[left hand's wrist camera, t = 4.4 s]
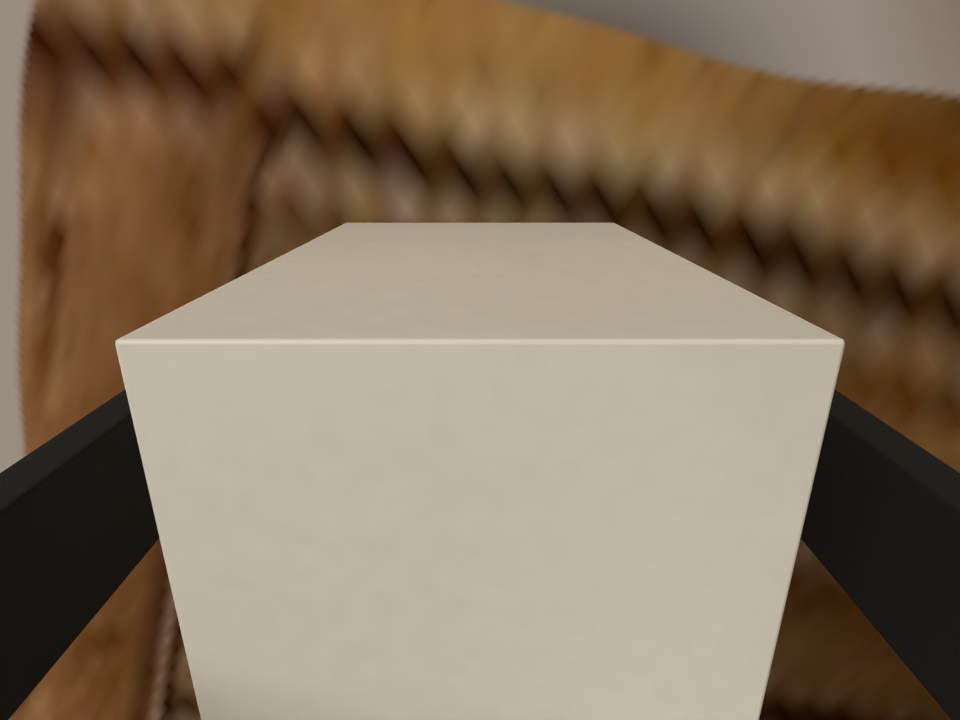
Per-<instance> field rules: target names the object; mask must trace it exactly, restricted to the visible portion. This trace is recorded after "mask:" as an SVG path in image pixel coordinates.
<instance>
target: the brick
mask: <svg viewBox="0 0 960 720" xmlns="http://www.w3.org/2000/svg"><path fill="white" fill-rule="evenodd" d="M115 345H116V350H117V354H118V358H119V363H120V367H121V372H122V376H123V380H124V385H125V389H126V393H127V398H128V402H129V406H130V411H131V415H132V420H133V424H134V428H135V433H136V437H137V441H138V446H139V450H140V454H141V459H142V463H143V468H144V472H145V476H146V481H147V485H148V489H149V494H150V498H151V502H152V507H153V511H154V516H155V520H156V524H157V529H158V533H159V537H160V542H161V546H162V550H163V555H164V559H165V564H166V568H167V572H168V577H169V581H170V585H171V590H172V594H173V598H174V603H175V607H176V612H177V616H178V620H179V625H180V629H181V633H182V638H183V642H184V646H185V651H186V655H187V660H188V664H189V668H190V673H191V677H192V681H193V686H194V690H195V694H196V699H197V703H198V708H199V712H200V716H201V720H759V717H760V713H761V708H762V704H763V699H764V695H765V691H766V686H767V682H768V678H769V673H770V669H771V665H772V660H773V656H774V651H775V647H776V643H777V638H778V634H779V630H780V625H781V621H782V617H783V612H784V608H785V604H786V599H787V595H788V590H789V586H790V582H791V577H792V573H793V569H794V564H795V560H796V556H797V551H798V547H799V542H800V538H801V534H802V529H803V525H804V521H805V516H806V512H807V508H808V503H809V499H810V494H811V490H812V486H813V481H814V477H815V473H816V468H817V464H818V460H819V455H820V451H821V446H822V442H823V438H824V433H825V429H826V425H827V420H828V416H829V412H830V407H831V403H832V398H833V394H834V390H835V385H836V381H837V377H838V372H839V368H840V364H841V359H842V355H843V350H844V346H845V343H844V340H843V339H841V338H839V337H837V336H835V335H833V334H831V333H829V332H827V331H825V330H823V329H821V328H819V327H817V326H815V325H813V324H811V323H810V322H808V321H806V320H804V319H802V318H800V317H798V316H796V315H794V314H792V313H790V312H788V311H786V310H784V309H782V308H780V307H778V306H776V305H774V304H772V303H770V302H768V301H766V300H764V299H762V298H760V297H758V296H757V295H755V294H753V293H751V292H749V291H747V290H745V289H743V288H741V287H739V286H737V285H735V284H733V283H731V282H729V281H727V280H725V279H723V278H721V277H719V276H717V275H715V274H713V273H711V272H709V271H707V270H705V269H704V268H702V267H700V266H698V265H696V264H694V263H692V262H690V261H688V260H686V259H684V258H682V257H680V256H678V255H676V254H674V253H672V252H670V251H668V250H666V249H664V248H662V247H660V246H658V245H656V244H654V243H652V242H651V241H649V240H647V239H645V238H643V237H641V236H639V235H637V234H635V233H633V232H631V231H629V230H627V229H625V228H623V227H621V226H619V225H617V224H615V223H345V224H343V225H341V226H339V227H337V228H335V229H333V230H331V231H329V232H327V233H325V234H323V235H321V236H320V237H318V238H316V239H314V240H312V241H310V242H308V243H306V244H304V245H302V246H300V247H298V248H296V249H294V250H292V251H290V252H288V253H286V254H284V255H282V256H280V257H278V258H276V259H274V260H272V261H270V262H268V263H266V264H265V265H263V266H261V267H259V268H257V269H255V270H253V271H251V272H249V273H247V274H245V275H243V276H241V277H239V278H237V279H235V280H233V281H231V282H229V283H227V284H225V285H223V286H221V287H219V288H217V289H215V290H213V291H211V292H210V293H208V294H206V295H204V296H202V297H200V298H198V299H196V300H194V301H192V302H190V303H188V304H186V305H184V306H182V307H180V308H178V309H176V310H174V311H172V312H170V313H168V314H166V315H164V316H162V317H160V318H158V319H156V320H155V321H153V322H151V323H149V324H147V325H145V326H143V327H141V328H139V329H137V330H135V331H133V332H131V333H129V334H127V335H125V336H123V337H121V338H119V339H117V340H116V344H115Z"/></svg>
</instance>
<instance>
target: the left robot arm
mask: <svg viewBox="0 0 960 720" xmlns="http://www.w3.org/2000/svg"><path fill="white" fill-rule="evenodd" d="M159 538H160V537H159V533H158V529H157V524H156V520H155V516H154V511H153V507H152V502H151V498H150V494H149V489H148V485H147V481H146V476H145V472H144V468H143V463H142V459H141V454H140V450H139V446H138V441H137V437H136V433H135V428H134V424H133V420H132V415H131V411H130V406H129V402H128V398H127V393H126V389H125V390H124V391H122V392H121V393H119V394H118V395H116V396H115V397H113V398H112V399H110V400H109V401H107V402H106V403H104V404H103V405H101V406H100V407H98V408H97V409H95V410H94V411H92V412H91V413H90V414H88V415H87V416H85V417H84V418H82V419H81V420H79V421H78V422H76V423H75V424H73V425H72V426H70V427H69V428H67V429H66V430H64V431H63V432H61V433H60V434H58V435H57V436H55V437H54V438H52V439H51V440H49V441H48V442H46V443H45V444H43V445H42V446H40V447H39V448H37V449H36V450H34V451H33V452H31V453H30V454H28V455H27V456H25V457H24V458H22V459H21V460H19V461H18V462H16V463H15V464H13V465H12V466H10V467H9V468H7V469H6V470H5V471H3V472H2V473H0V720H8V719H9V718H10V717H11V716H12V715H13V713H14V712H15V711H16V710H17V709H18V707H19V706H20V705H21V704H22V703H23V701H24V700H25V699H26V698H27V696H28V695H29V694H30V693H31V692H32V690H33V689H34V688H35V687H36V686H37V684H38V683H39V682H40V681H41V680H42V678H43V677H44V676H45V675H46V674H47V672H48V671H49V670H50V669H51V668H52V666H53V665H54V664H55V663H56V662H57V660H58V659H59V658H60V657H61V656H62V654H63V653H64V652H65V651H66V650H67V648H68V647H69V646H70V645H71V644H72V642H73V641H74V640H75V639H76V637H77V636H78V635H79V634H80V633H81V631H82V630H83V629H84V628H85V627H86V625H87V624H88V623H89V622H90V621H91V619H92V618H93V617H94V616H95V615H96V613H97V612H98V611H99V610H100V609H101V607H102V606H103V605H104V604H105V603H106V601H107V600H108V599H109V598H110V597H111V595H112V594H113V593H114V592H115V591H116V589H117V588H118V587H119V586H120V585H121V583H122V582H123V581H124V580H125V578H126V577H127V576H128V575H129V574H130V572H131V571H132V570H133V569H134V568H135V566H136V565H137V564H138V563H139V562H140V560H141V559H142V558H143V557H144V556H145V554H146V553H147V552H148V551H149V550H150V548H151V547H152V546H153V545H154V544H155V542H156V541H157V540H158V539H159ZM801 539H802V540H803V541H804V542H805V544H806V545H807V546H808V547H809V548H810V550H811V551H812V552H813V553H814V554H815V556H816V557H817V558H818V559H819V560H820V562H821V563H822V564H823V565H824V566H825V568H826V569H827V570H828V571H829V572H830V574H831V575H832V576H833V577H834V579H835V580H836V581H837V582H838V583H839V585H840V586H841V587H842V588H843V589H844V591H845V592H846V593H847V594H848V595H849V597H850V598H851V599H852V600H853V601H854V603H855V604H856V605H857V606H858V607H859V609H860V610H861V611H862V612H863V613H864V615H865V616H866V617H867V618H868V619H869V621H870V622H871V623H872V624H873V625H874V627H875V628H876V629H877V630H878V632H879V633H880V634H881V635H882V636H883V638H884V639H885V640H886V641H887V642H888V644H889V645H890V646H891V647H892V648H893V650H894V651H895V652H896V653H897V654H898V656H899V657H900V658H901V659H902V660H903V662H904V663H905V664H906V665H907V666H908V668H909V669H910V670H911V671H912V672H913V674H914V675H915V676H916V677H917V678H918V680H919V681H920V682H921V683H922V684H923V686H924V687H925V688H926V689H927V691H928V692H929V693H930V694H931V695H932V697H933V698H934V699H935V700H936V701H937V703H938V704H939V705H940V706H941V707H942V709H943V710H944V711H945V712H946V713H947V715H948V716H949V717H950V718H951V719H952V720H960V473H958V472H957V471H955V470H954V469H952V468H951V467H949V466H948V465H947V464H945V463H944V462H942V461H941V460H939V459H938V458H936V457H935V456H933V455H932V454H930V453H929V452H927V451H926V450H924V449H923V448H921V447H920V446H918V445H917V444H915V443H914V442H912V441H911V440H909V439H908V438H906V437H905V436H903V435H902V434H900V433H899V432H897V431H896V430H894V429H893V428H891V427H890V426H888V425H887V424H885V423H884V422H882V421H881V420H879V419H878V418H876V417H875V416H873V415H872V414H870V413H869V412H867V411H866V410H864V409H863V408H862V407H860V406H859V405H857V404H856V403H854V402H853V401H851V400H850V399H848V398H847V397H845V396H844V395H842V394H841V393H839V392H838V391H836V390H834V394H833V398H832V403H831V407H830V412H829V416H828V420H827V425H826V429H825V433H824V438H823V442H822V446H821V451H820V455H819V460H818V464H817V468H816V473H815V477H814V481H813V486H812V490H811V494H810V499H809V503H808V508H807V512H806V516H805V521H804V525H803V529H802V534H801Z"/></svg>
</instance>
